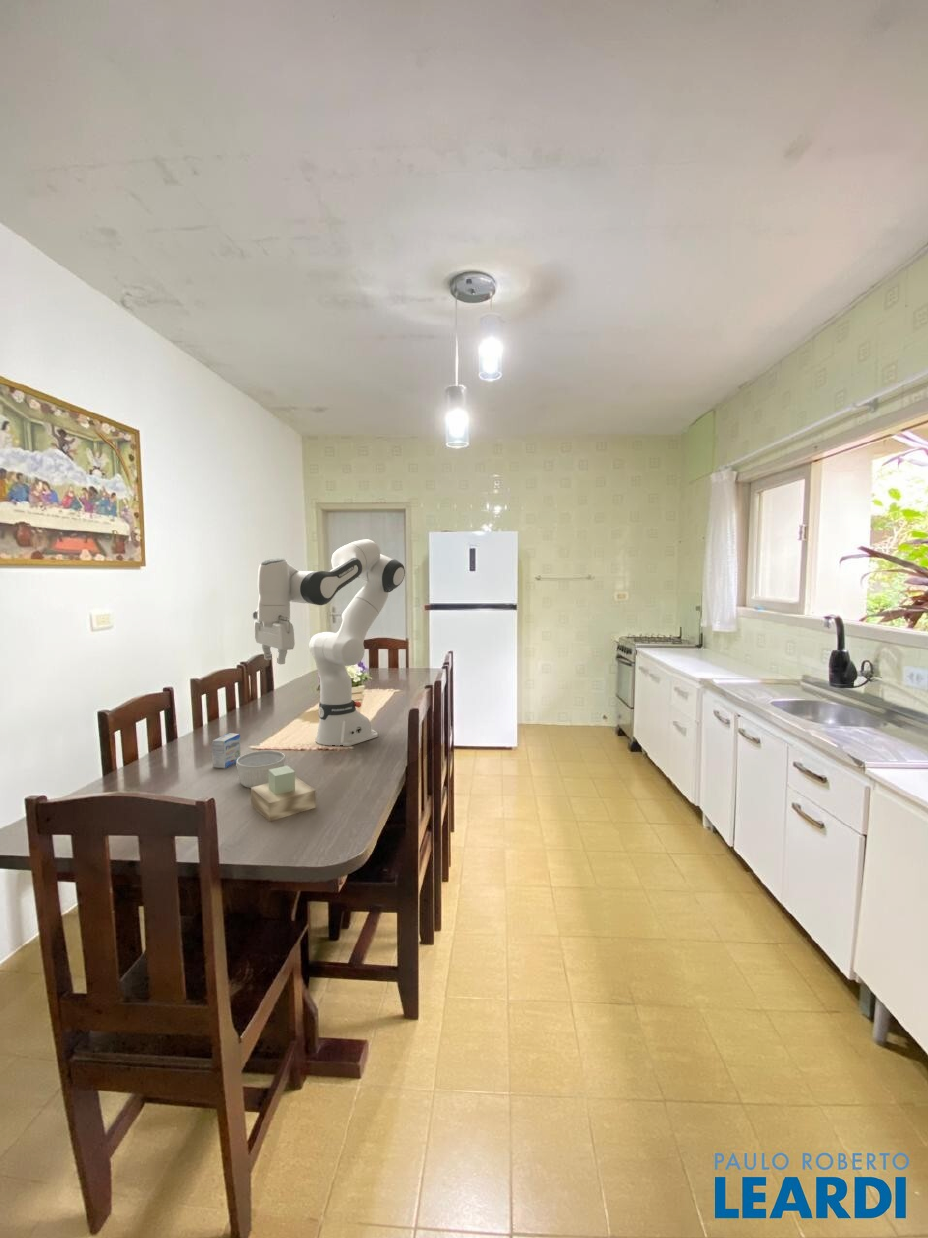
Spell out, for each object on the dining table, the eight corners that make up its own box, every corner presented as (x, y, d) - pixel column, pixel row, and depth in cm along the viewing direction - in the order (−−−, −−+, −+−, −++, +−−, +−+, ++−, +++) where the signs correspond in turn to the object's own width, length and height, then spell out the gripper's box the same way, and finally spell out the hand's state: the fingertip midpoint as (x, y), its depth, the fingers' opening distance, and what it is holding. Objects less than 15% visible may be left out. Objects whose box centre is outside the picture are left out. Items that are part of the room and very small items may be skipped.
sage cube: (287, 783, 136) (287, 765, 136) (294, 790, 133) (294, 771, 132) (268, 788, 133) (268, 769, 133) (275, 795, 129) (275, 776, 129)
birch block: (295, 793, 142) (295, 776, 142) (315, 809, 133) (315, 790, 133) (251, 806, 134) (250, 787, 134) (269, 823, 125) (269, 803, 125)
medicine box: (224, 769, 158) (224, 741, 157) (212, 767, 159) (211, 740, 158) (240, 760, 166) (240, 733, 165) (228, 759, 166) (228, 732, 166)
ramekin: (255, 794, 140) (255, 769, 140) (226, 783, 147) (226, 759, 147) (294, 779, 152) (294, 755, 151) (266, 769, 159) (265, 747, 158)
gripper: (300, 616, 145) (300, 665, 146) (270, 612, 160) (271, 656, 161) (278, 617, 141) (278, 667, 142) (250, 612, 156) (250, 658, 157)
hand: (274, 661), depth 152 cm, fingers open, 8 cm apart
